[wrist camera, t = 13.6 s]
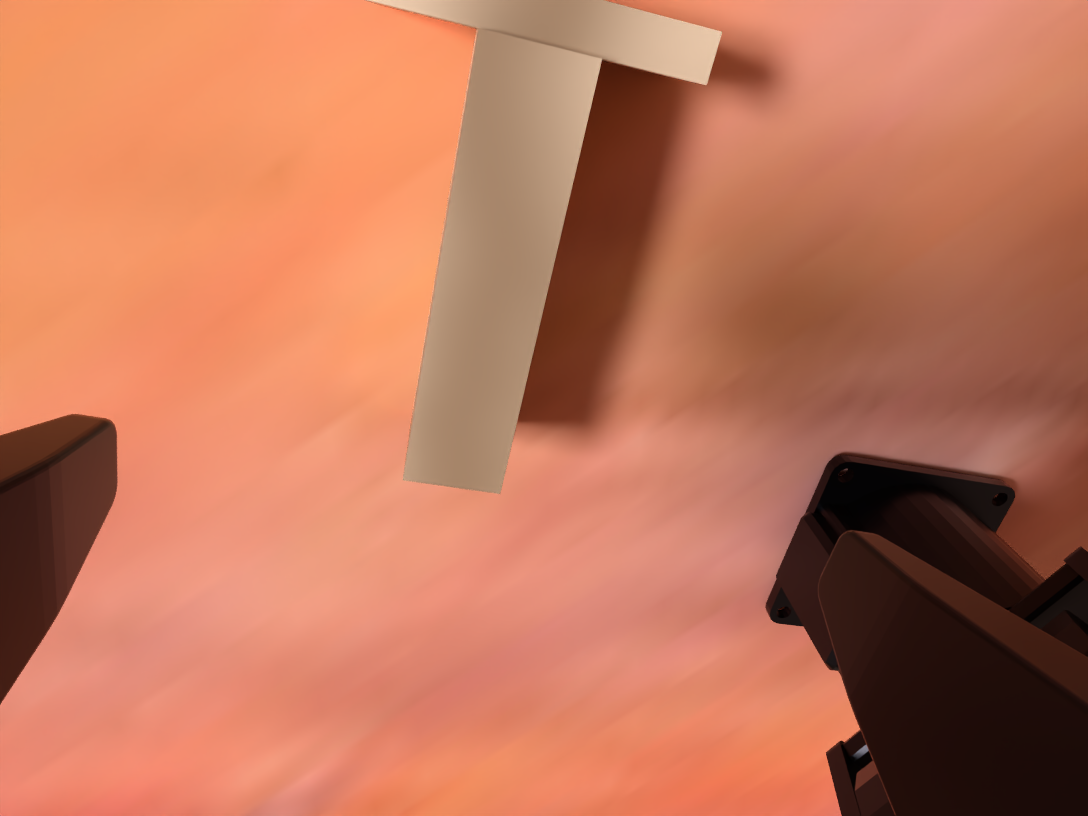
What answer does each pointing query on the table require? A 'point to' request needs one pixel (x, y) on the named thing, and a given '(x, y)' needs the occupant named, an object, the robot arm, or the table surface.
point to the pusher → (515, 208)
